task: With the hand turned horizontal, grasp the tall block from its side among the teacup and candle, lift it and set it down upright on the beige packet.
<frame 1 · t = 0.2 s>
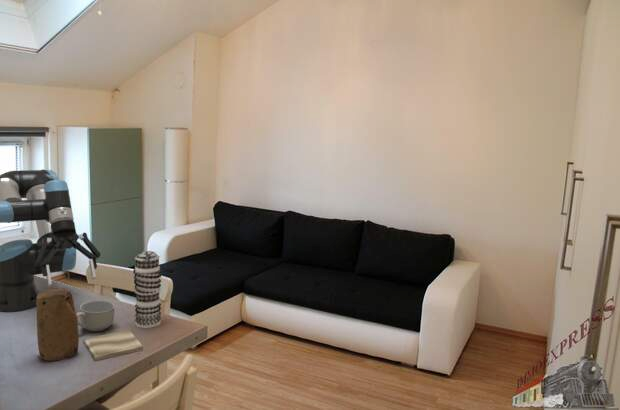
hand: (72, 281, 174), 15 cm above the table, tool tilted 35°, fingers open, 13 cm apart
decorative candle: (148, 323, 180), on the table
teacup: (93, 329, 173), on the table
block: (59, 355, 154), on the table
beige packet: (113, 346, 161), on the table
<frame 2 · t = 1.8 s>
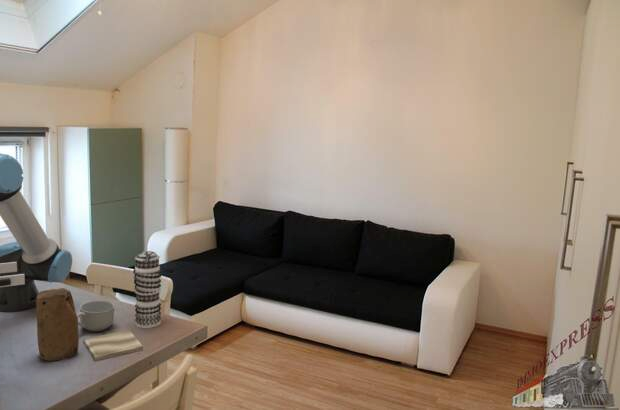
hand: (20, 272, 145), 27 cm above the table, tool horizontal, fingers open, 13 cm apart
nothing on the table moved.
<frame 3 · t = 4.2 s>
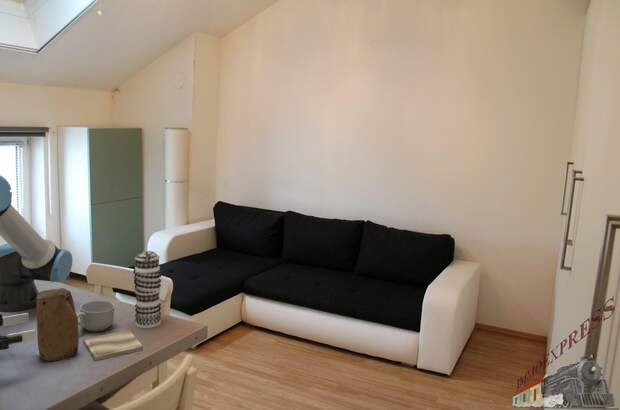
hand: (32, 325, 148), 11 cm above the table, tool horizontal, fingers open, 13 cm apart
nothing on the table moved.
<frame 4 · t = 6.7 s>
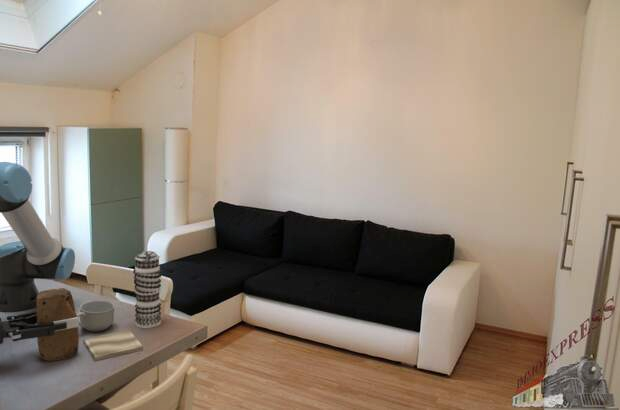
hand: (74, 316, 155), 11 cm above the table, tool horizontal, fingers closed on block, 8 cm apart
block: (59, 355, 154), on the table, touching gripper
everything else where it was.
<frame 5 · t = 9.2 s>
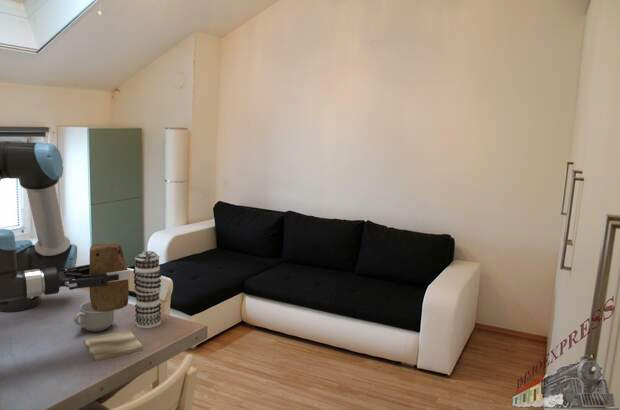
hand: (125, 270, 159), 24 cm above the table, tool horizontal, fingers closed on block, 8 cm apart
block: (109, 308, 158), point 13 cm above the table, touching gripper
everything else where it was.
when the fingers open (13 cm above the table, at t = 11.7 s): block drops 1 cm, resting on beige packet.
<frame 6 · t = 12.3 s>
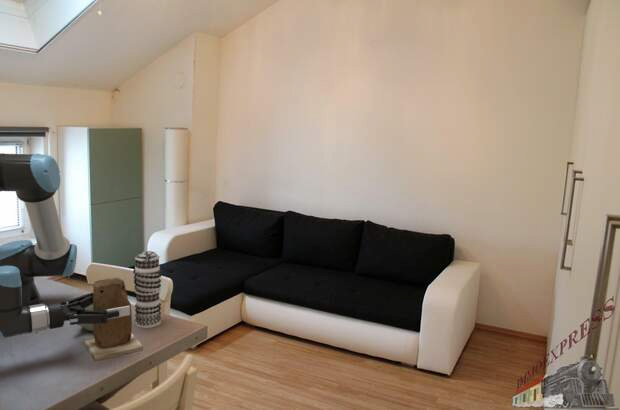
hand: (123, 303, 161), 14 cm above the table, tool horizontal, fingers open, 13 cm apart
block: (113, 343, 161), point 1 cm above the table, touching beige packet
everything else where it was.
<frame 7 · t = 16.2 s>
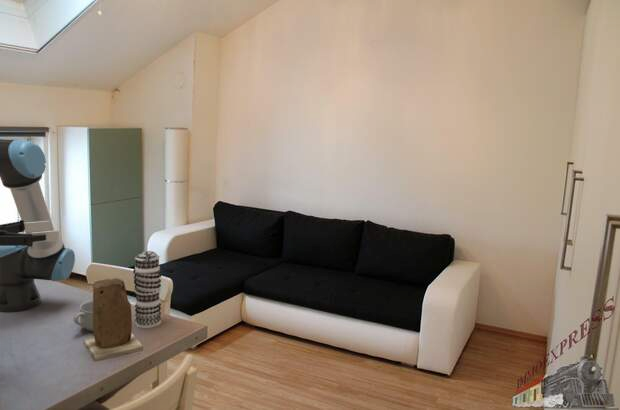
hand: (54, 230, 148), 38 cm above the table, tool horizontal, fingers open, 13 cm apart
nothing on the table moved.
at the end: block inside the target area on the beige packet (0.1 cm from its centre), point 1.1 cm above the beige packet's base; block tilted 0°; the gripper is holding nothing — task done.
